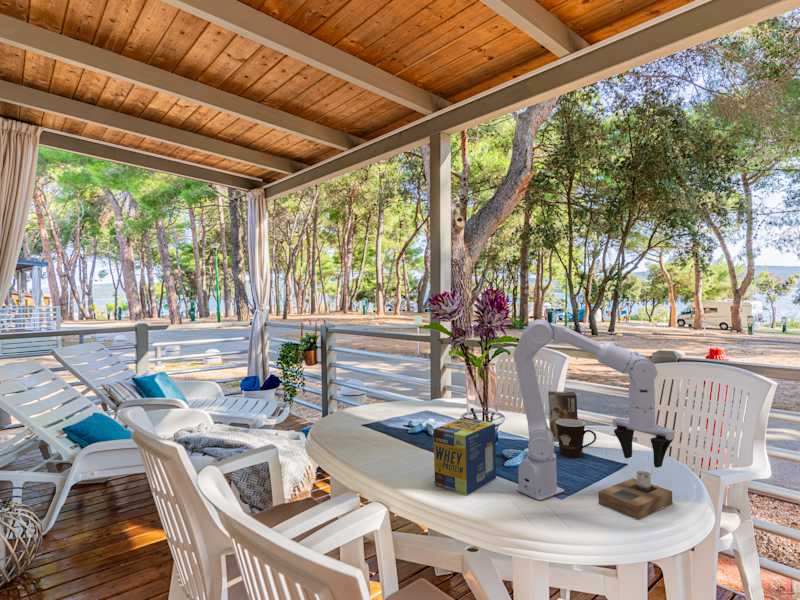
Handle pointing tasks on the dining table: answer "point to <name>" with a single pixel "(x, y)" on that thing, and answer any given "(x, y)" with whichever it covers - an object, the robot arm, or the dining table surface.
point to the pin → (643, 481)
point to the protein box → (464, 455)
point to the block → (634, 499)
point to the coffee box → (561, 408)
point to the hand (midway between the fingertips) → (642, 461)
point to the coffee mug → (571, 437)
